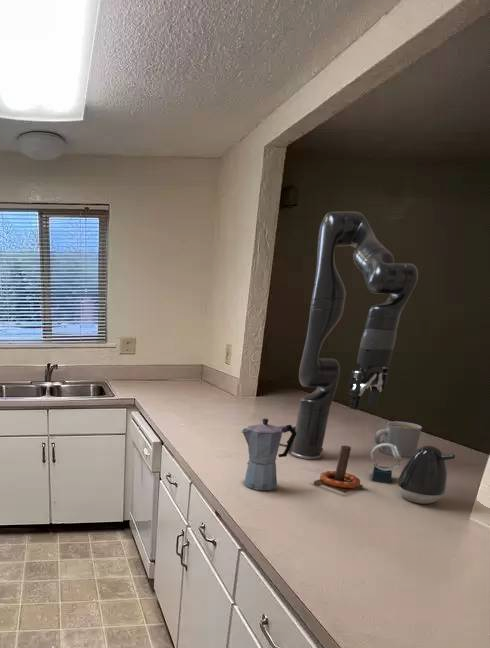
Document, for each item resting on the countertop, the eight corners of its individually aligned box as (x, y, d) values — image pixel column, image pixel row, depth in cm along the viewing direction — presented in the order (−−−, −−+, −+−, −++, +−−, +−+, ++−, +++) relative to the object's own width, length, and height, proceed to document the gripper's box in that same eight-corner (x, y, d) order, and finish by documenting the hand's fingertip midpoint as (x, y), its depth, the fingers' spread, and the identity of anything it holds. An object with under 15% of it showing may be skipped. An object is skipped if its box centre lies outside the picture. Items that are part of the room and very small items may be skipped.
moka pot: (229, 479, 131) (236, 415, 124) (278, 477, 132) (288, 413, 125) (242, 492, 122) (251, 423, 115) (295, 490, 123) (307, 422, 116)
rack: (313, 484, 127) (321, 445, 123) (332, 478, 131) (339, 440, 127) (343, 495, 119) (352, 454, 115) (362, 489, 124) (371, 448, 119)
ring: (312, 479, 127) (313, 474, 127) (333, 473, 132) (334, 468, 131) (345, 491, 119) (346, 485, 118) (366, 484, 123) (368, 479, 123)
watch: (397, 484, 126) (406, 449, 123) (365, 479, 130) (373, 444, 127) (396, 478, 131) (405, 444, 127) (365, 473, 135) (373, 439, 131)
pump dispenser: (428, 511, 110) (445, 455, 105) (386, 496, 119) (399, 443, 114) (449, 503, 115) (466, 449, 109) (407, 489, 123) (421, 438, 118)
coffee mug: (408, 449, 157) (415, 422, 153) (419, 458, 148) (427, 429, 145) (366, 446, 161) (372, 419, 157) (374, 454, 152) (381, 426, 148)
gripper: (376, 344, 120) (363, 401, 125) (346, 346, 113) (334, 407, 119) (406, 346, 114) (391, 406, 119) (376, 349, 107) (361, 413, 113)
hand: (362, 407), depth 119 cm, fingers open, 8 cm apart
